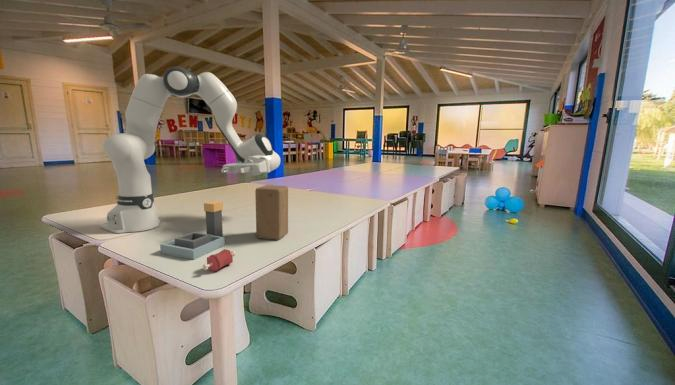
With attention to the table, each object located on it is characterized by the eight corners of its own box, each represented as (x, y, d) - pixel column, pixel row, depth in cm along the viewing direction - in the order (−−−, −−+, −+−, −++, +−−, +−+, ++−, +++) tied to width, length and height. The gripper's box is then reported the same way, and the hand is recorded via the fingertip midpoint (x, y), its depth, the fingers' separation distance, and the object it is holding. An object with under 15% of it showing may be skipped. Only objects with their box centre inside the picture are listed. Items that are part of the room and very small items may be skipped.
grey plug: (205, 238, 108) (203, 203, 105) (214, 235, 112) (212, 200, 110) (215, 240, 106) (213, 204, 104) (223, 236, 111) (222, 202, 108)
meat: (212, 275, 77) (207, 258, 77) (199, 276, 79) (195, 260, 79) (242, 259, 88) (238, 244, 88) (230, 261, 90) (226, 246, 90)
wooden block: (279, 241, 108) (279, 189, 104) (255, 238, 109) (254, 188, 106) (289, 233, 117) (288, 185, 114) (266, 231, 119) (266, 184, 116)
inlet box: (160, 253, 93) (159, 240, 92) (194, 239, 106) (193, 228, 105) (193, 259, 89) (192, 246, 88) (224, 245, 102) (224, 233, 101)
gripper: (235, 159, 130) (211, 163, 118) (271, 157, 121) (248, 162, 109) (237, 172, 131) (214, 178, 119) (273, 172, 123) (251, 178, 110)
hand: (231, 171), depth 114 cm, fingers open, 8 cm apart
